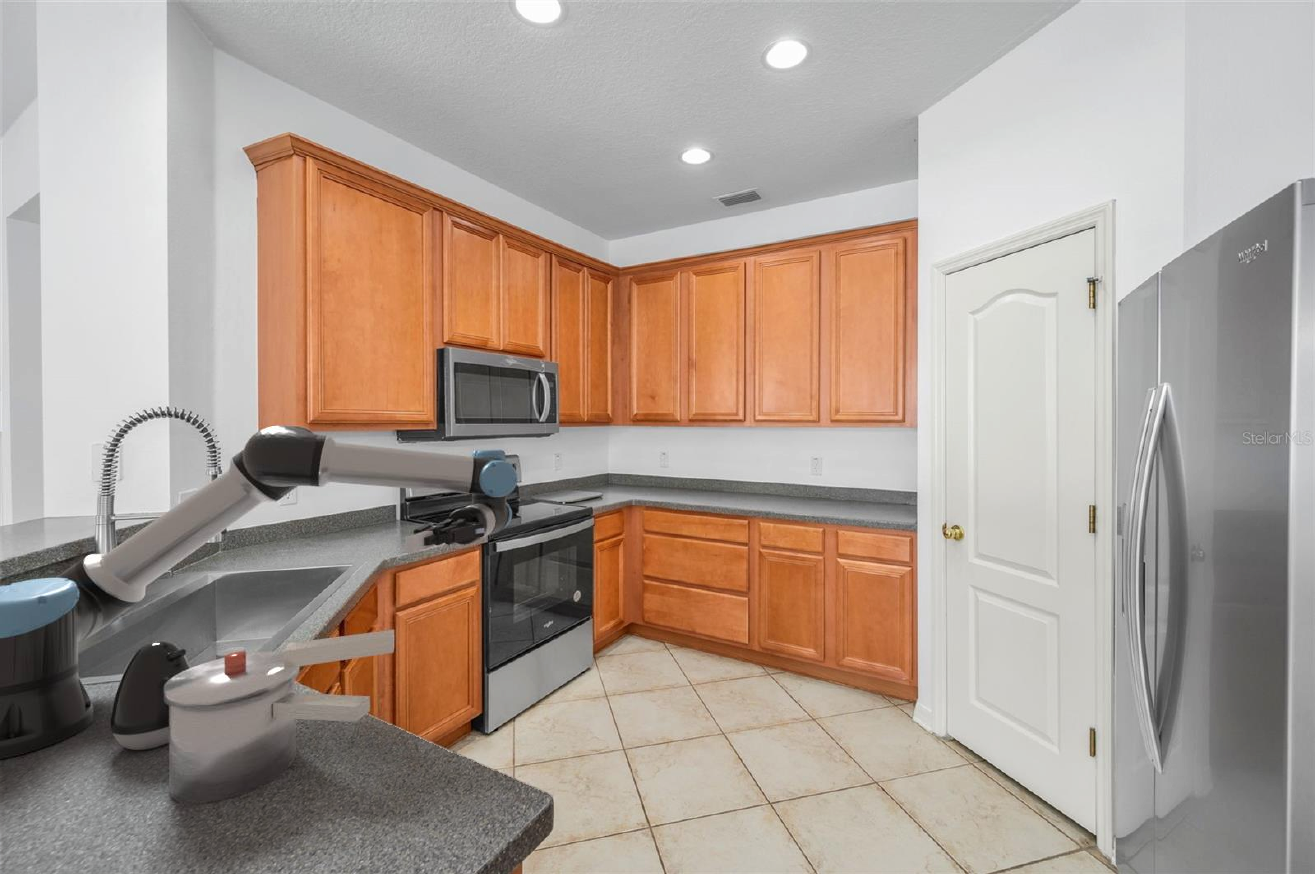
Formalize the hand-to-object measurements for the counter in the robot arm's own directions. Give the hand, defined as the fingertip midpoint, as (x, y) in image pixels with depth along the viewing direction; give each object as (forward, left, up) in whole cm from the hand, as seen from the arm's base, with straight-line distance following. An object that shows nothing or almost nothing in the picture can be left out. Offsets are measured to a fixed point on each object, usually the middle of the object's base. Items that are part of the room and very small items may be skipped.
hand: (409, 544), depth 96 cm
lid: (-9, -16, -16) cm, 24 cm away
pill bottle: (-32, -2, -28) cm, 42 cm away
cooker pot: (-8, -19, -28) cm, 35 cm away
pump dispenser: (-34, -13, -28) cm, 46 cm away
